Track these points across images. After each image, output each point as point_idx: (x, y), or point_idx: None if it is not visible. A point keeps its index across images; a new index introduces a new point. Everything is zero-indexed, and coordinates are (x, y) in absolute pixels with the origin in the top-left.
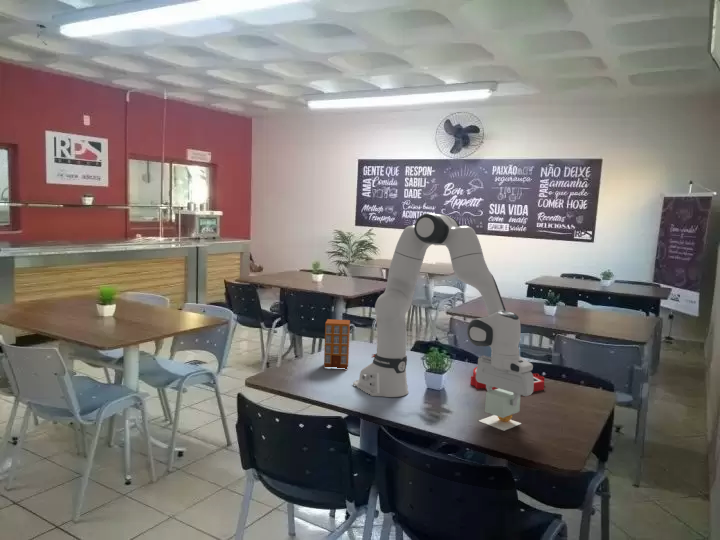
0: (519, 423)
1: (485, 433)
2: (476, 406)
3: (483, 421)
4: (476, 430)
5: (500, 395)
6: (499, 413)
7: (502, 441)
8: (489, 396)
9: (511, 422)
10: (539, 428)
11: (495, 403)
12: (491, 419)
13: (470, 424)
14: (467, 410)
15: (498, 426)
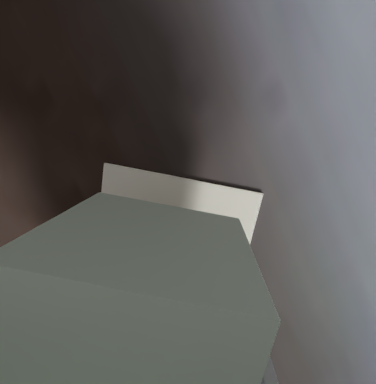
0: None
1: (157, 54)
2: (349, 368)
3: (236, 202)
4: (214, 57)
5: (63, 320)
6: (117, 202)
7: (39, 15)
8: (214, 281)
9: None
10: None
11: (138, 236)
12: None
13: (278, 119)
14: (370, 295)
15: (147, 190)
